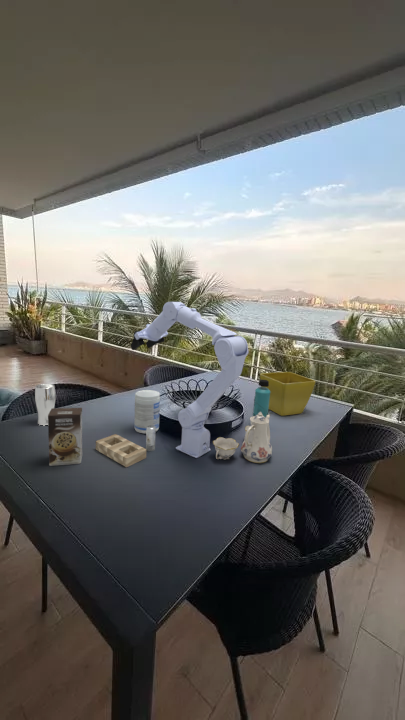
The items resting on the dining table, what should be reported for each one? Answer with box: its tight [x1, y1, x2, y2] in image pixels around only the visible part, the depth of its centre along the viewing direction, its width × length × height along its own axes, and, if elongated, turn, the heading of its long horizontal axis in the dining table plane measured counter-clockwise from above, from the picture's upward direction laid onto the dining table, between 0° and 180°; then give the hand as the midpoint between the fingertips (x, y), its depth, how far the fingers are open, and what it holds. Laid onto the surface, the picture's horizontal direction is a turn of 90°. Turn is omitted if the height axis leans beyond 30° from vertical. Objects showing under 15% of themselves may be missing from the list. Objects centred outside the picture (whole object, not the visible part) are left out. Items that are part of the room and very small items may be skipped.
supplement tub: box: [133, 389, 161, 434], centre depth 124 cm, size 10×10×15 cm
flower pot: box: [259, 371, 316, 417], centre depth 154 cm, size 19×19×17 cm
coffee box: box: [47, 407, 83, 467], centre depth 98 cm, size 9×6×16 cm
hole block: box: [95, 433, 147, 468], centre depth 105 cm, size 16×8×3 cm, turn 52°
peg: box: [145, 425, 156, 452], centre depth 109 cm, size 3×3×8 cm
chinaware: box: [212, 412, 273, 464], centre depth 110 cm, size 28×17×17 cm, turn 141°
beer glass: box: [34, 383, 56, 427], centre depth 124 cm, size 7×7×15 cm
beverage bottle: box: [251, 379, 270, 418], centre depth 133 cm, size 6×7×20 cm
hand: (140, 346), depth 121 cm, fingers open, 7 cm apart
